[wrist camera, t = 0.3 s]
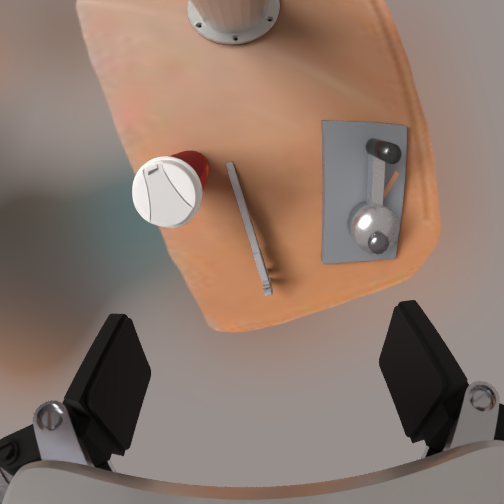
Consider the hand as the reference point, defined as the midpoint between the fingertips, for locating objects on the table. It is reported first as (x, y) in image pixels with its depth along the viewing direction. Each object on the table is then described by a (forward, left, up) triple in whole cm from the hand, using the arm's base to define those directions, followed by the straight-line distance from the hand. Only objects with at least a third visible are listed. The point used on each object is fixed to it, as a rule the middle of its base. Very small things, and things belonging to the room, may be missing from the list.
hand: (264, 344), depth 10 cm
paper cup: (0, -9, -34) cm, 36 cm away
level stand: (+5, +16, -34) cm, 38 cm away
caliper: (+9, -1, -35) cm, 36 cm away
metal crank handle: (+4, +17, -32) cm, 37 cm away
